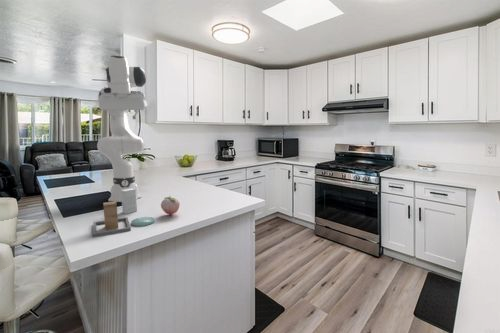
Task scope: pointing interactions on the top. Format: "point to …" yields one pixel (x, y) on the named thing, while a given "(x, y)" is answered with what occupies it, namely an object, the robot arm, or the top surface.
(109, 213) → the walnut block
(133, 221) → the teal round disc
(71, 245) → the top surface
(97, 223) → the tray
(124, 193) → the skincare box
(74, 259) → the top surface
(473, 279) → the top surface
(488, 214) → the top surface
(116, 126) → the robot arm
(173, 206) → the decorative fruit
